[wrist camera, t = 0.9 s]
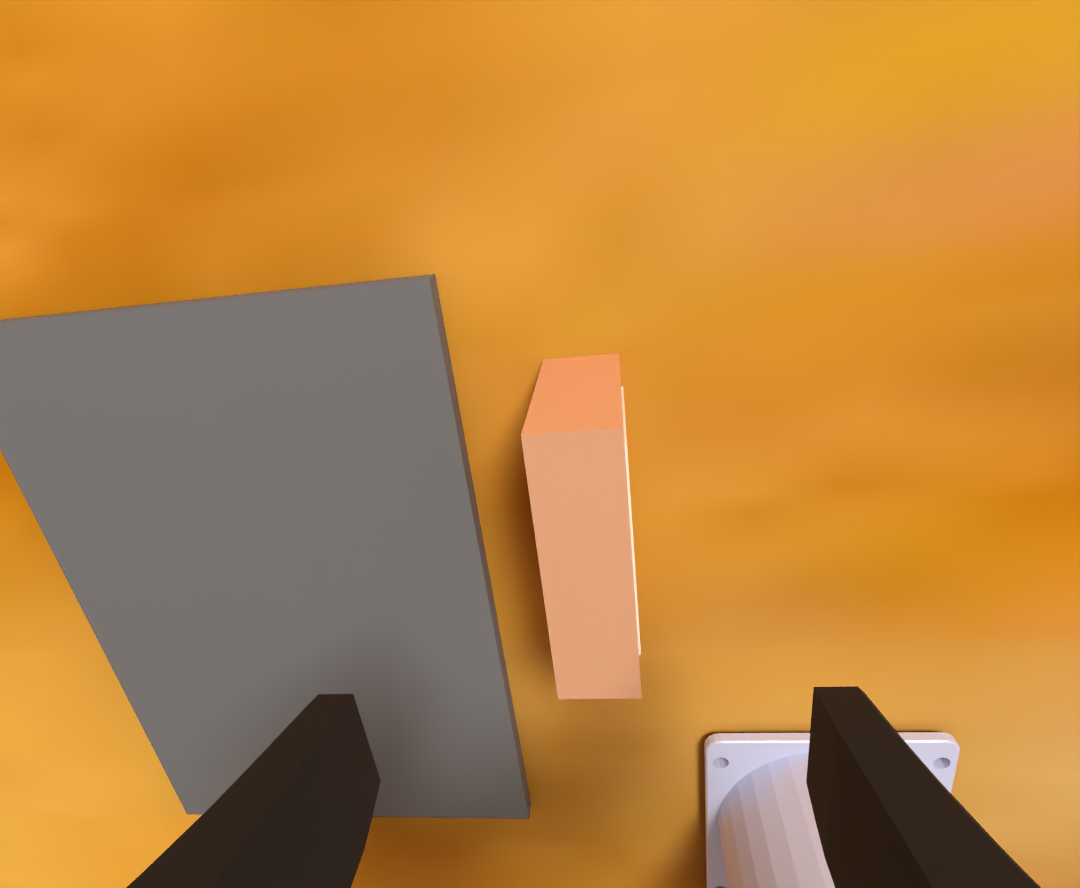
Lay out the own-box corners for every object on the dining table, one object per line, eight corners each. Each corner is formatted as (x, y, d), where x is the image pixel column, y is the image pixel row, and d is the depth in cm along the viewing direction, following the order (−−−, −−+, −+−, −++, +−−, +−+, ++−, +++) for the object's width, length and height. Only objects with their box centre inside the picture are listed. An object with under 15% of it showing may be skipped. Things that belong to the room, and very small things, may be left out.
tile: (635, 571, 20) (643, 698, 15) (569, 574, 20) (557, 699, 15) (620, 352, 17) (625, 427, 12) (543, 359, 17) (520, 435, 13)
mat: (530, 803, 24) (529, 818, 24) (195, 800, 26) (186, 814, 26) (434, 274, 16) (428, 278, 16) (-42, 324, 18) (-61, 329, 18)
